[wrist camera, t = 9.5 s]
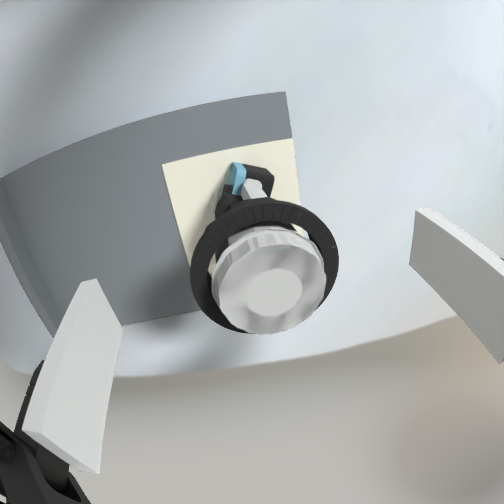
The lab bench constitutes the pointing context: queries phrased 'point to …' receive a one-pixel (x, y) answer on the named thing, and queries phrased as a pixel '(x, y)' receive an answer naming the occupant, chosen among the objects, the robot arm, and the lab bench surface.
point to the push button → (261, 258)
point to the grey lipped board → (137, 205)
